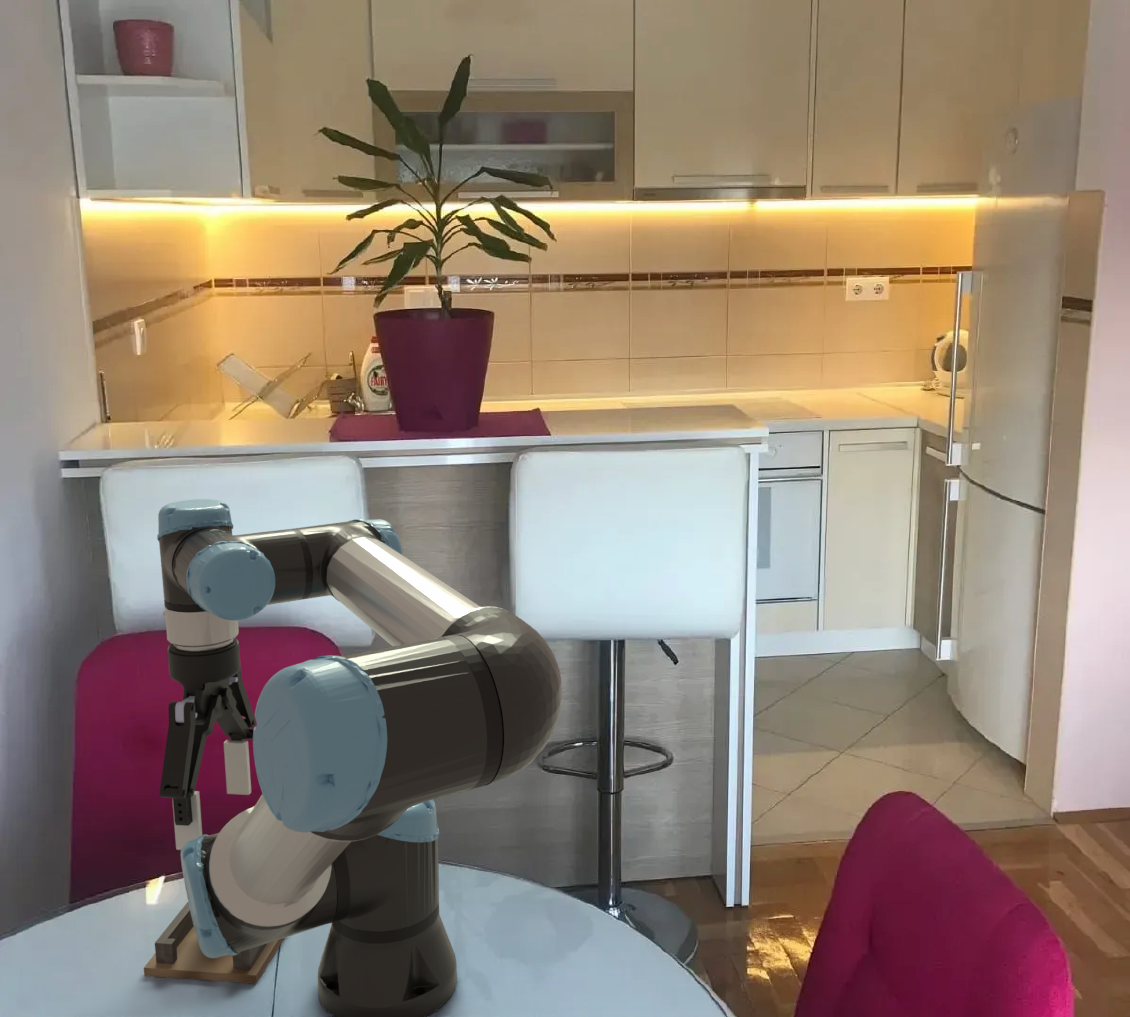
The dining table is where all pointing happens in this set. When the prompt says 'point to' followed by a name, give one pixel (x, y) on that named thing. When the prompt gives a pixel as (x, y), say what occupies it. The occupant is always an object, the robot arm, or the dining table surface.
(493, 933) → the dining table surface
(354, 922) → the robot arm
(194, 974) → the socket
